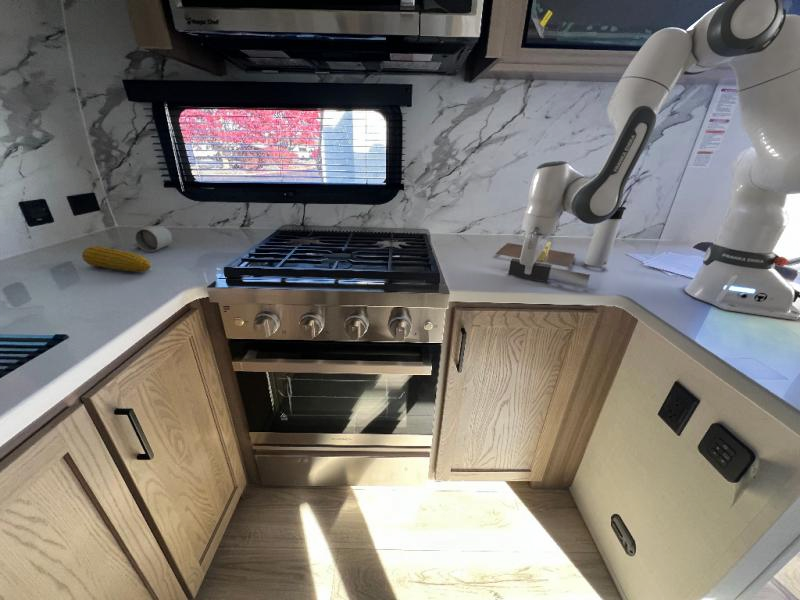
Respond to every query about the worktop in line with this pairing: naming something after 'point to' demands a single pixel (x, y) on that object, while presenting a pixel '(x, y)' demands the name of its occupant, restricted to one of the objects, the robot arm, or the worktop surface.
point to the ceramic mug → (153, 238)
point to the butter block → (547, 247)
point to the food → (115, 259)
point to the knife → (549, 274)
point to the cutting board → (550, 258)
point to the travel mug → (604, 240)
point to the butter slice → (542, 255)
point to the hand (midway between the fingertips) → (529, 271)
